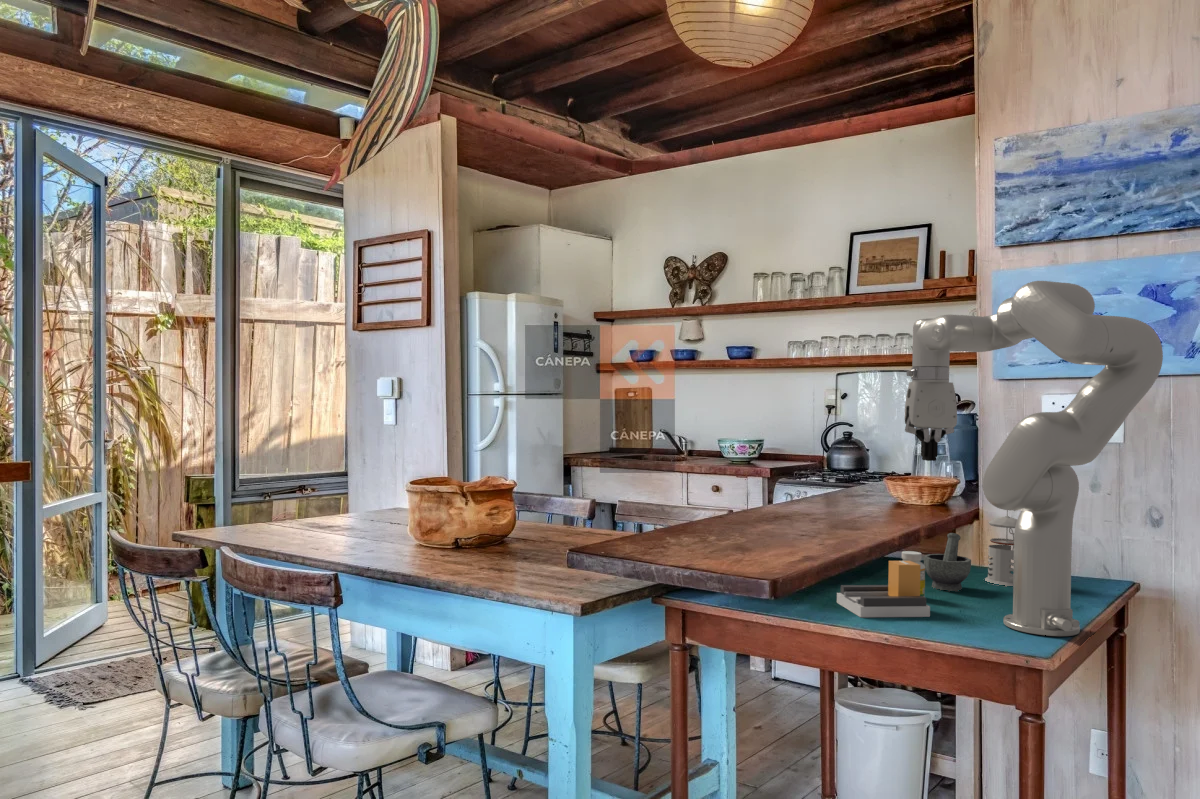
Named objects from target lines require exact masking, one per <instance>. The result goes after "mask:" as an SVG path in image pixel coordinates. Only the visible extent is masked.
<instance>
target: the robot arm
mask: <svg viewBox="0 0 1200 799" xmlns="http://www.w3.org/2000/svg"><path fill="white" fill-rule="evenodd" d="M1095 305H1096V304H1095V299H1094V297H1093V295H1092V293H1090V292H1089V290H1088V289H1086V287H1083V286H1082V285H1079V284H1076V283H1070V282H1061V281H1060V282H1059V281H1051V280H1049V281H1048V280H1035V281H1029V282H1028V283H1026V284H1024V285H1022V286H1021V287H1020V288H1018V289H1017V291H1016V292H1015V294H1014V295H1013V297H1008V298H1005V299H1004V300H1002V302H1001V303H1000V304H999V305H998V308H997V311H996V313H994V314H992V315H985V316H979V315H977V316H976V315H966V314H965V315H964V314H944V315H940V316H937V317H933V318H922V319H921V318H920V319H917V320H915V322H914V323H913V326H912V362H911V363H912V364H911V365H912V367H911V369H907V370H906V376H907V377H910V378H911V381H910V382H908V387H907V390H906V396H905V404H904V423H905V427H904V432H906V433H909V434H912V435H914V436H916V438H917V439H918V441H919V442H920V456H921V458H922V459H921V460H922V461H927V462H930V461H932V462H936V461H937V457H938V452H939V451H938V450H939V449H938V446H939V445H938V444H939V442H941V439H942V438H944V437H945V436H946V435H950V434H953V433H954V432H955V427H956V426H957V424H958V423H957V422H958V407H957V396H956V390H955V385H954V382H950V358H951V357H950V354H951V353H950V352H972V353H985V352H992V351H997V350H1001V349H1006V348H1010V347H1013V346H1016V345H1018V344H1019V343H1021V342H1022V341H1024V340H1029V339H1035V340H1037V341H1038V342H1039V343H1041V344H1042V345H1043V346H1044V347H1046V348H1047V349H1048V350H1049V351H1051V353H1053V354H1054V355H1056V357H1058V358H1061V359H1062V360H1064V361H1065V362H1068V363H1070V364H1071V363H1072V364H1075V365H1081V366H1082V365H1086V366H1104V367H1103V369H1101V370H1100V371H1099V373H1097V374H1095V375H1094V376H1092V377H1091V378H1090V379H1089V380H1088V381H1086V382H1085V383H1083V386H1081V388H1080V389H1079V390H1078V391H1077V393H1076V395H1075V396H1074V398H1073V399H1072V400H1071V401H1070V402H1069V404H1068V405H1067V406H1066V407H1065V408H1064V409H1063V410H1059V411H1052V412H1051V411H1042V412H1041V411H1040V412H1035V413H1031V414H1029V415H1027V416H1025V417H1024V418H1023V419H1021V420H1020V421H1019V422H1018V423H1016V425H1015V426H1014V427H1013V429H1012V430H1011V431H1010V433H1009V434H1008V435H1007V437H1006V439H1004V440H1005V441H1003V443H1002V444H1001V446H1000V448H998V450H997V452H996V454H995V455H994V456H993V458H992V459H991V460H990V462H989V464H988V465H987V467H986V470H985V472H984V474H983V477H982V478H983V479H982V492H983V494H984V497H985V499H986V500H987V501H988V502H989V504H991V505H992V506H993V507H995V508H997V509H999V510H1003V511H1007V510H1008V511H1020V512H1019V514H1018V516H1017V518H1016V519H1017V522H1016V526H1015V528H1014V532H1013V533H1014V560H1013V563H1014V566H1013V569H1014V572H1013V573H1012V574H1013V587H1012V589H1013V590H1012V613H1010V614H1006V615H1005V616H1004V617H1003V624H1004V625H1005V626H1006V627H1008V628H1010V629H1012V630H1015V631H1019V632H1022V633H1027V634H1032V635H1039V636H1045V635H1046V636H1047V637H1071V636H1076V635H1079V634H1080V631H1081V627H1080V621H1079V620H1078V619H1075V618H1073V616H1074V614H1073V609H1072V608H1071V602H1072V601H1071V598H1072V597H1071V596H1072V595H1071V594H1072V591H1071V590H1072V547H1073V523H1074V515H1075V510H1076V505H1077V502H1078V501H1077V500H1078V498H1079V491H1080V483H1079V478H1078V475H1077V473H1076V471H1075V470H1074V469H1073V467H1072V466H1075V467H1076V466H1083V465H1086V464H1090V463H1091V462H1092V461H1094V460H1095V459H1096V458H1097V457H1098V456H1099V455H1100V453H1101V452H1103V449H1104V448H1105V447H1106V446H1107V444H1108V443H1109V442H1110V440H1111V439H1112V438H1113V436H1114V435H1115V434H1116V432H1117V431H1118V430H1119V429H1120V428H1121V426H1123V423H1124V421H1126V419H1127V417H1128V416H1129V415H1130V413H1131V412H1132V411H1133V410H1134V409H1135V407H1136V406H1137V405H1138V404H1140V402H1141V401H1142V400H1143V398H1144V397H1145V396H1146V395H1147V393H1149V391H1150V390H1151V388H1152V387H1153V385H1154V384H1155V383H1156V381H1157V379H1158V377H1159V376H1160V372H1161V370H1162V367H1163V359H1164V352H1163V345H1162V341H1161V339H1160V337H1159V335H1158V334H1157V333H1156V331H1155V330H1154V329H1153V327H1152V326H1150V325H1149V324H1147V323H1145V322H1144V321H1142V320H1139V319H1136V318H1132V317H1127V316H1116V315H1102V314H1094V312H1095V307H1096V306H1095Z"/></svg>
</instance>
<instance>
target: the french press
mask: <svg viewBox="0 0 1200 799" xmlns="http://www.w3.org/2000/svg"><path fill="white" fill-rule="evenodd" d="M1017 519H1018V518H1015V517H1010V515H1009V510H1006V516H1002V517H1000V516H999V517H996V518H992V519H991V520H990V521H988V524H989V525H990V526H992V527H997V528H1005V529H1006V536H1005V538H1003V537H1000V538H999V537H998V538H997V537H996V538H991V539H990V540H989V541H990V542H991V543H993V544H989V545H988V554H987V555H988V558H987V559H988V564H987V566H988V567H987V571H988V572H987V577H985V578H984V579H985V581H987V582H990V583H994V584H999V585H1005V586H1004V587H1007V586H1013V574H1014V562H1012V561H1014V533H1015V532H1014V530H1013V529H1015V526H1016V522H1017ZM1008 533H1009V534H1010V535H1012V538H1008ZM1012 572H1013V573H1012ZM994 584H993V585H994ZM999 585H998V586H999Z"/></svg>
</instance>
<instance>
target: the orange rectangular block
mask: <svg viewBox="0 0 1200 799" xmlns="http://www.w3.org/2000/svg"><path fill="white" fill-rule="evenodd" d="M920 566H921V565H919V564H917V563H914V562H912V561H903V560H888V577H887V578H888V580H887V581H888V583H887V585H888V595H889V596H920Z"/></svg>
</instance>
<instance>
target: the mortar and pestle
mask: <svg viewBox="0 0 1200 799" xmlns="http://www.w3.org/2000/svg"><path fill="white" fill-rule="evenodd" d="M960 540H961V535H960V534H957V533H956V532H955V533H954V532H949V533H947V541H946V544H945V545H946V546H945V551H944V553H932V554H930V553H928V554H925V555H923V564H924V565H925V573H926V574H927V576H928V577H929V578H930V579H931V580H932V583H931V588H932V587H933V589H934V588H936V589H935V590H937V589H940V590H939V591H941V590H948V591H947V592H950V591H955V592H959V591H958V590H961V589H962V588H963V586H962V582H964V581H965V580H966V579H967V577H968V576H969V575H970V573H971V569H972V559H971V558H968V557H966V556H963V555H961V556H960V555H959V554H958V553H959V542H960ZM961 591H962V590H961Z"/></svg>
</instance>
